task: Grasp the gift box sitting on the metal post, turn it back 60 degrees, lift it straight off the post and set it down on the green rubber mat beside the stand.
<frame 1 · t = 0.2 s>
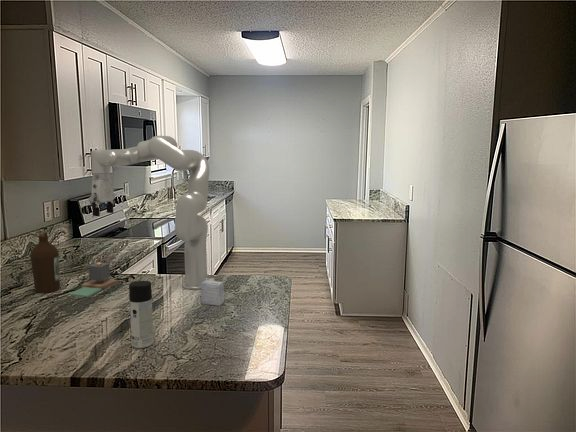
hand: (103, 214, 200), 30 cm above the counter, fingers open, 9 cm apart
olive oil: (47, 290, 188), on the counter
spray can: (142, 344, 138), on the counter
gift box: (99, 278, 195), point 3 cm above the counter, touching post stand
post stand: (100, 284, 196), on the counter
medicine box: (212, 303, 174), on the counter
mat: (85, 292, 185), on the counter
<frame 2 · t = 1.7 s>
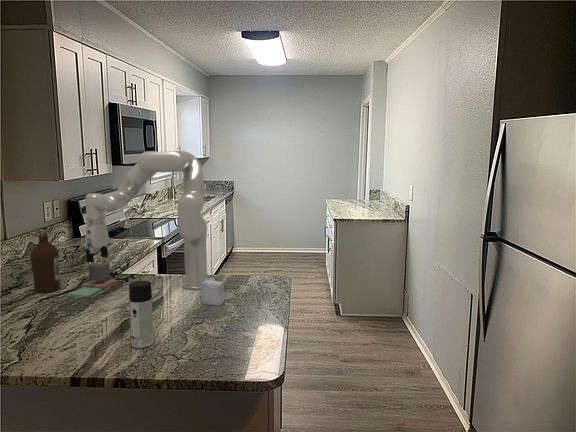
hand: (97, 259, 194), 12 cm above the counter, fingers open, 9 cm apart
nothing on the counter moved.
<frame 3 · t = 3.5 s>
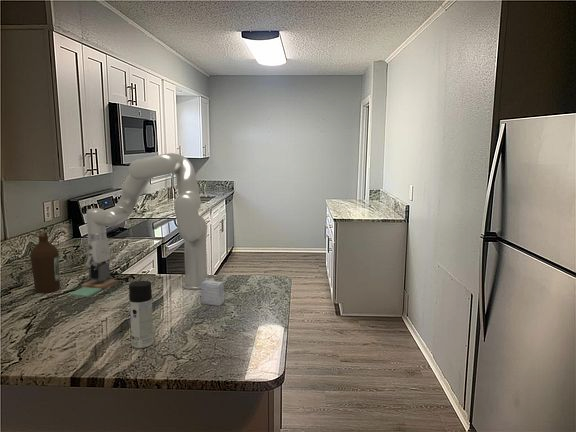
hand: (99, 275, 195), 4 cm above the counter, fingers closed on gift box, 6 cm apart
gift box: (99, 278, 195), point 3 cm above the counter, touching gripper, post stand
everything else where it was.
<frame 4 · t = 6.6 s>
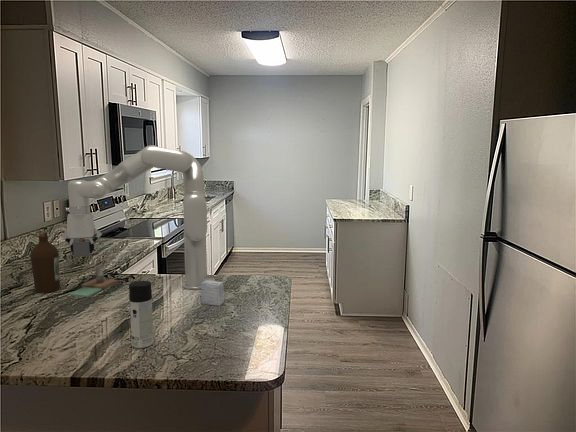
hand: (82, 252, 182), 17 cm above the counter, fingers closed on gift box, 6 cm apart
gift box: (83, 254, 182), point 16 cm above the counter, touching gripper
everything else where it was.
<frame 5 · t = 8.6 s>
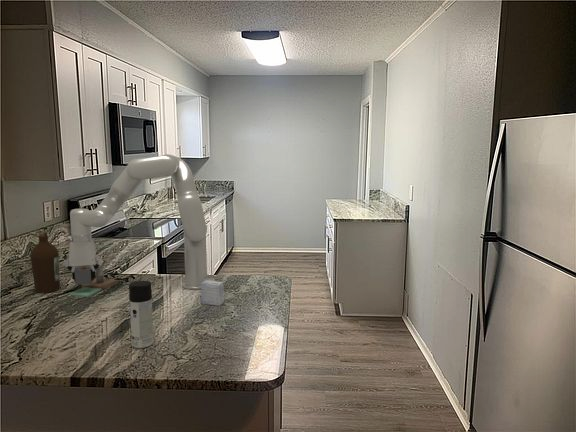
hand: (84, 279, 184), 6 cm above the counter, fingers closed on gift box, 6 cm apart
gift box: (84, 282, 184), point 5 cm above the counter, touching gripper
everything else where it was.
when the fingers open (3 cm above the counter, at t = 10.0 s): gift box drops 2 cm, resting on mat.
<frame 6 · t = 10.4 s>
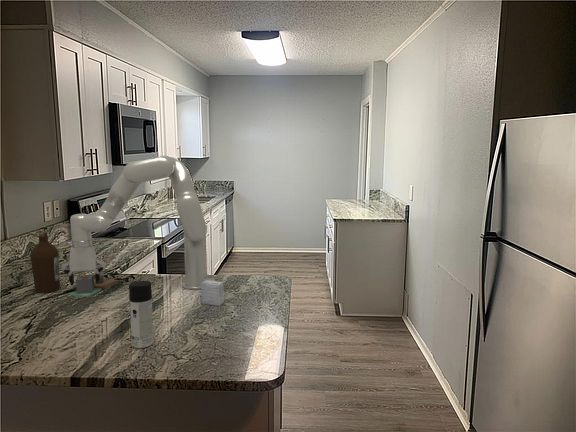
hand: (84, 283, 184), 4 cm above the counter, fingers open, 9 cm apart
gift box: (85, 291, 185), point 1 cm above the counter, touching mat
everything else where it was.
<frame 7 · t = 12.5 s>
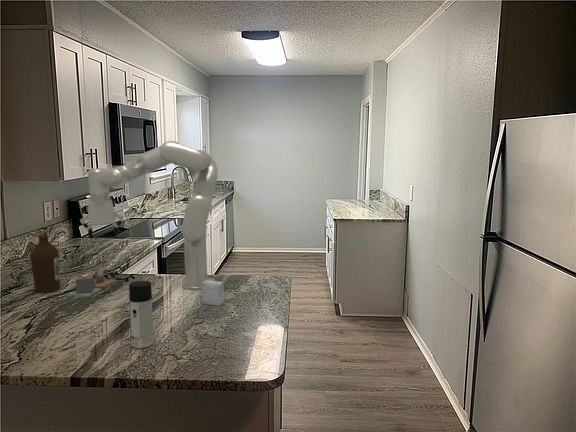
hand: (103, 237, 188), 23 cm above the counter, fingers open, 9 cm apart
nothing on the counter moved.
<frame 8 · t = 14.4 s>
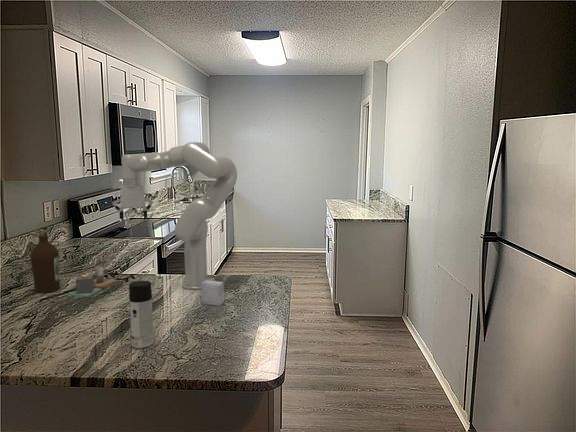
hand: (133, 219, 198), 28 cm above the counter, fingers open, 9 cm apart
nothing on the counter moved.
at the end: gift box inside the target area on the mat (0.1 cm from its centre), point 0.6 cm above the mat's base; gift box tilted 0°; gift box touching mat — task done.
